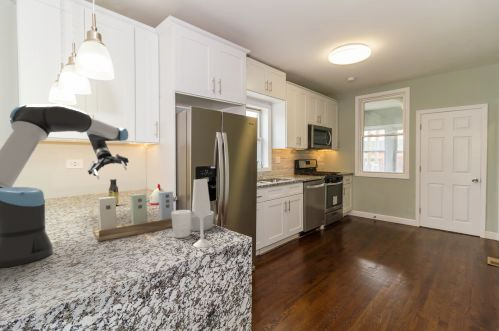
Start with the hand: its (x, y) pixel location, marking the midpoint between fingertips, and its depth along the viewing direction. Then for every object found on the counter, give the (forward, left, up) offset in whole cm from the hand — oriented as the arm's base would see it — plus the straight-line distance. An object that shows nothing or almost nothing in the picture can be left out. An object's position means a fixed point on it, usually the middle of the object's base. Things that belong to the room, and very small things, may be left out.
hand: (112, 172), depth 127 cm
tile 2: (-22, -11, -24) cm, 34 cm away
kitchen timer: (+44, -29, -26) cm, 59 cm away
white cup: (-46, -25, -26) cm, 59 cm away
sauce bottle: (+54, +1, -26) cm, 60 cm away
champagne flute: (-61, -29, -26) cm, 72 cm away
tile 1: (-24, +2, -24) cm, 34 cm away
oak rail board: (-24, -11, -26) cm, 37 cm away
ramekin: (-39, -35, -26) cm, 59 cm away
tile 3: (-20, -24, -24) cm, 39 cm away
